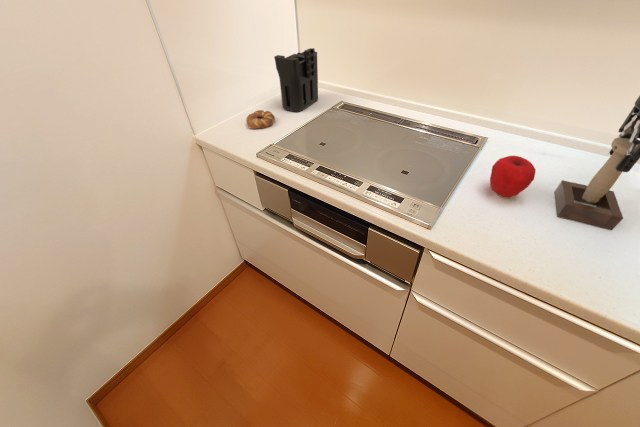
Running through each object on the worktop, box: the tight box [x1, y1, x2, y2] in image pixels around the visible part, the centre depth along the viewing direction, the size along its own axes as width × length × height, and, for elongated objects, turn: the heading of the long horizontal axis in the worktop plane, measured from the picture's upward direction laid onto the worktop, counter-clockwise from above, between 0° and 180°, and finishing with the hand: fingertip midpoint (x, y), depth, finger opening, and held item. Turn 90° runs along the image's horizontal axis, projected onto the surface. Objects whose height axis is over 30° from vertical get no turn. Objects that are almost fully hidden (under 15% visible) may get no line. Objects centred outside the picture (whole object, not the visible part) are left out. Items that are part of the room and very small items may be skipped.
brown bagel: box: [245, 109, 276, 130], centre depth 114 cm, size 12×11×4 cm
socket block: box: [554, 179, 624, 231], centre depth 73 cm, size 11×11×4 cm
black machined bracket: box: [273, 47, 319, 113], centre depth 122 cm, size 12×21×22 cm, turn 149°
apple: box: [489, 155, 536, 199], centre depth 77 cm, size 10×10×11 cm
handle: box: [582, 137, 638, 203], centre depth 67 cm, size 5×6×15 cm
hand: (617, 162), depth 65 cm, fingers closed on handle, 6 cm apart
